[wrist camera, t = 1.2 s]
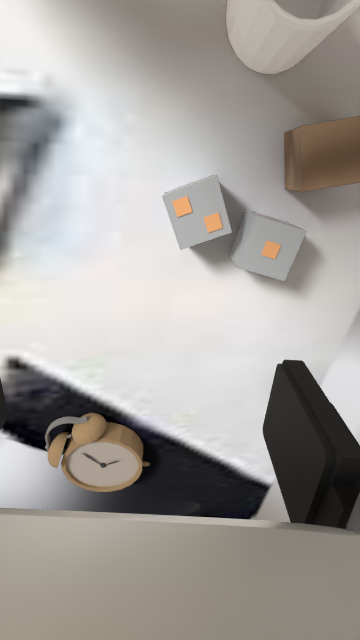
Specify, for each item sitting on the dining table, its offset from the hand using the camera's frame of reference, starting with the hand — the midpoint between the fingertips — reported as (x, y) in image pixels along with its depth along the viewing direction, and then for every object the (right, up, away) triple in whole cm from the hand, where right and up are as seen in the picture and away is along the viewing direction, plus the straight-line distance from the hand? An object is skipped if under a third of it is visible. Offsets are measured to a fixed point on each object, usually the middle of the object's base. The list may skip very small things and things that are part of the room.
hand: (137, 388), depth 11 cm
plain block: (+14, +18, +20) cm, 31 cm away
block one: (+10, +11, +24) cm, 28 cm away
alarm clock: (-11, -16, +36) cm, 41 cm away
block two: (+3, +14, +22) cm, 26 cm away
